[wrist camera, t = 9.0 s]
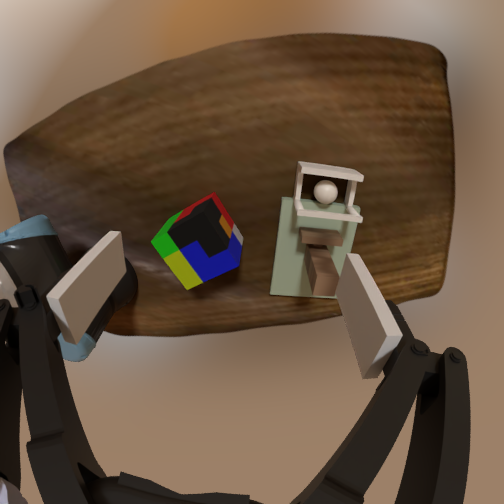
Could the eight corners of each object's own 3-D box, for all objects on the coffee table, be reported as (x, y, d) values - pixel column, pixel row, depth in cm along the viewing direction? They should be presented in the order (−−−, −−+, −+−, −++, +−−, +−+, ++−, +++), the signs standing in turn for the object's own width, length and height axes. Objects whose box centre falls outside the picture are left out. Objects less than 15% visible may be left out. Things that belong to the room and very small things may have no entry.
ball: (316, 174, 42) (311, 185, 46) (317, 196, 41) (311, 206, 45) (339, 177, 43) (333, 188, 46) (341, 199, 42) (334, 208, 45)
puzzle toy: (243, 237, 51) (239, 266, 42) (198, 259, 53) (186, 290, 45) (214, 191, 47) (203, 211, 38) (169, 218, 49) (150, 241, 41)
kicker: (294, 258, 50) (301, 294, 41) (299, 226, 47) (308, 257, 38) (330, 261, 50) (344, 297, 41) (337, 230, 47) (355, 261, 38)
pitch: (269, 289, 56) (270, 314, 49) (285, 159, 44) (290, 168, 37) (335, 294, 56) (343, 317, 49) (364, 171, 44) (381, 181, 37)
